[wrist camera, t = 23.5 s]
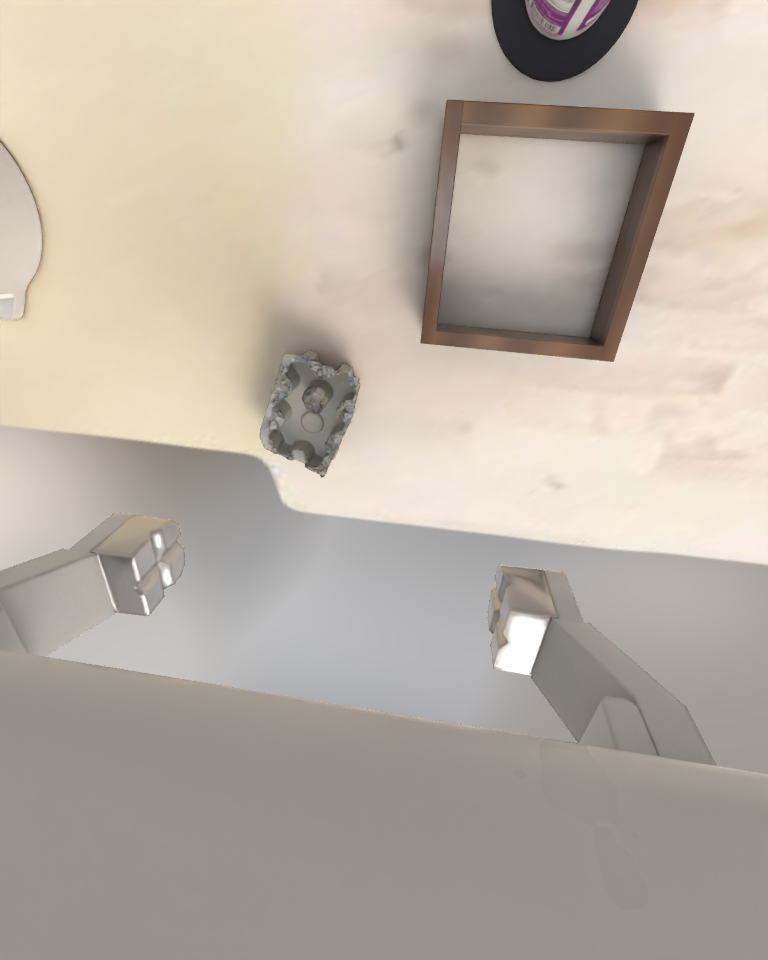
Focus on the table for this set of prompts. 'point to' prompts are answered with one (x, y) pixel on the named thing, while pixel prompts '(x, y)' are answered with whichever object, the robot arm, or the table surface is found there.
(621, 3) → the coaster
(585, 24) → the pill bottle
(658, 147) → the wooden square frame
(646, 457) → the table surface
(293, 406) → the egg carton
